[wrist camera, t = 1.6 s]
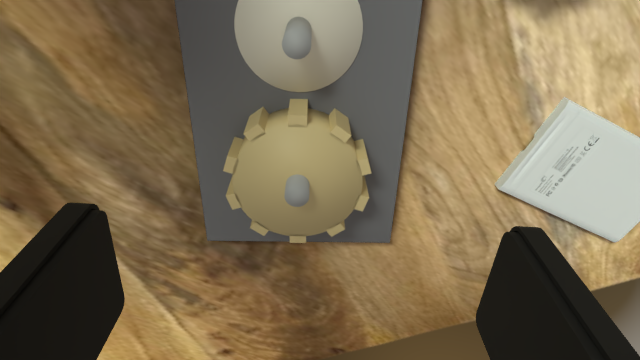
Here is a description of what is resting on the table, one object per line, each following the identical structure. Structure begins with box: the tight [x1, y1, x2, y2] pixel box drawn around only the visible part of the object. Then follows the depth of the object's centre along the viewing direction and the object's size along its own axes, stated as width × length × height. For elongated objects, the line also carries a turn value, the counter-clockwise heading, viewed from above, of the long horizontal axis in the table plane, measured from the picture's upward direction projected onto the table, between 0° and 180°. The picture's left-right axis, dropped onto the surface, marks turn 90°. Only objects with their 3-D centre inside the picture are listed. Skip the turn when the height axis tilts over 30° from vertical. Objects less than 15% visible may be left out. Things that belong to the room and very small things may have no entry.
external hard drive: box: [495, 97, 640, 242], centre depth 34 cm, size 2×8×12 cm
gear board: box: [175, 0, 422, 243], centre depth 28 cm, size 24×15×6 cm, turn 179°
